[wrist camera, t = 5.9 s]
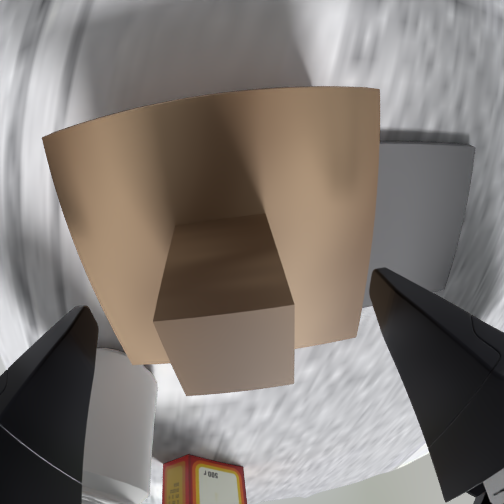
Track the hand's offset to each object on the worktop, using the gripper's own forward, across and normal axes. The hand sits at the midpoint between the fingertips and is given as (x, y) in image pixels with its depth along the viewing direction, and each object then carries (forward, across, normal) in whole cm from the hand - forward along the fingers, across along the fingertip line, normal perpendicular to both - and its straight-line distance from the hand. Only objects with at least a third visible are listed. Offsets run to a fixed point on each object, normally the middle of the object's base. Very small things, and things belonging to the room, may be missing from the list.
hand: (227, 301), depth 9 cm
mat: (+8, -11, +3) cm, 14 cm away
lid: (+3, 0, 0) cm, 3 cm away
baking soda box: (+8, +9, +38) cm, 40 cm away
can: (+8, +11, +13) cm, 19 cm away
